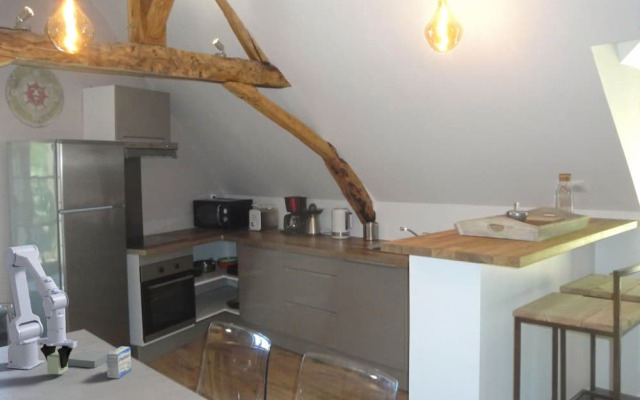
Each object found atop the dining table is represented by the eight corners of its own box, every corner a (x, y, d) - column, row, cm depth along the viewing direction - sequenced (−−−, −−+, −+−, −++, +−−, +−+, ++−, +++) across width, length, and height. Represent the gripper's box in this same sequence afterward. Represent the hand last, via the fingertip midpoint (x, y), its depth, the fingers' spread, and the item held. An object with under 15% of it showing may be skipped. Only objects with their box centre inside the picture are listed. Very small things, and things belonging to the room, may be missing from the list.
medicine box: (118, 379, 178) (118, 354, 178) (106, 378, 179) (106, 353, 179) (131, 370, 186) (130, 346, 185) (120, 369, 187) (119, 345, 186)
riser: (66, 365, 191) (65, 358, 191) (84, 355, 201) (84, 349, 200) (94, 368, 188) (94, 361, 188) (111, 358, 198) (111, 351, 198)
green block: (47, 373, 179) (47, 356, 179) (56, 368, 184) (56, 351, 183) (58, 374, 178) (58, 357, 178) (67, 369, 183) (67, 352, 182)
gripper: (29, 329, 178) (31, 368, 179) (66, 332, 175) (67, 372, 175) (45, 323, 185) (46, 361, 186) (80, 326, 181) (81, 364, 182)
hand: (57, 366), depth 181 cm, fingers closed on green block, 4 cm apart
